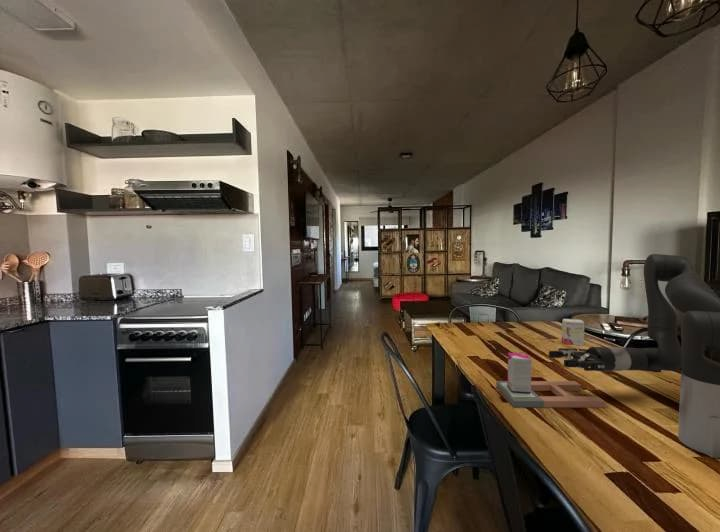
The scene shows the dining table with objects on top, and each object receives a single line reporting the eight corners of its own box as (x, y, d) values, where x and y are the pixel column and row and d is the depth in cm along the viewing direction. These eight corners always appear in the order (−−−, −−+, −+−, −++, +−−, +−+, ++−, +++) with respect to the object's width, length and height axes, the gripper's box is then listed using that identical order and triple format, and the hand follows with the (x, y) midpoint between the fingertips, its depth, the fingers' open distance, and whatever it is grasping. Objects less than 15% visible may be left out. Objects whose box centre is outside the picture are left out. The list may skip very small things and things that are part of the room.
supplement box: (531, 394, 100) (532, 359, 99) (511, 393, 101) (512, 358, 100) (525, 385, 105) (525, 352, 105) (506, 385, 106) (506, 352, 106)
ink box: (563, 344, 154) (564, 320, 153) (561, 341, 158) (561, 318, 158) (584, 346, 151) (584, 322, 150) (581, 343, 155) (582, 319, 154)
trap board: (604, 407, 95) (604, 400, 95) (514, 407, 96) (514, 400, 96) (575, 386, 109) (575, 380, 109) (496, 386, 110) (496, 380, 110)
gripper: (592, 341, 107) (544, 341, 108) (626, 354, 93) (570, 354, 94) (592, 362, 108) (544, 362, 109) (625, 379, 94) (570, 379, 94)
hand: (556, 358), depth 101 cm, fingers open, 8 cm apart
